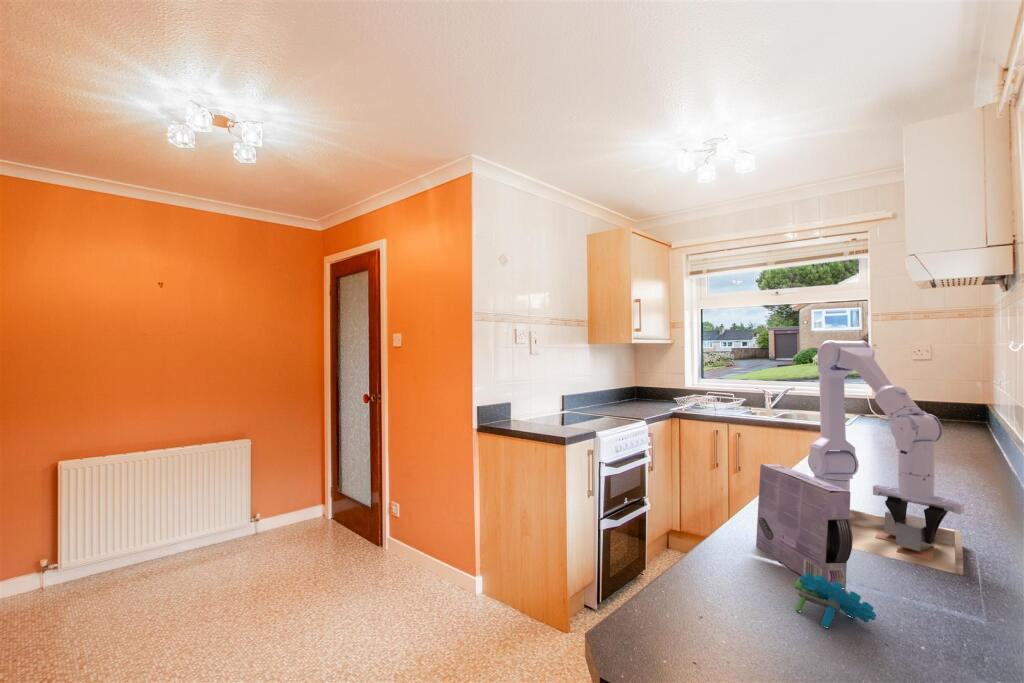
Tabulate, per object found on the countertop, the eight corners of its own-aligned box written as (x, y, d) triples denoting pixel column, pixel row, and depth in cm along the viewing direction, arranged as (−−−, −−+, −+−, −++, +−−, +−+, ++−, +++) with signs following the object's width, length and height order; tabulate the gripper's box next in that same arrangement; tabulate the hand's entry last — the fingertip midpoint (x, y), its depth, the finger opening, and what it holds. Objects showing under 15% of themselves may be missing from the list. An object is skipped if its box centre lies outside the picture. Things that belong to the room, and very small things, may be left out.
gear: (891, 622, 71) (854, 581, 69) (878, 661, 68) (840, 619, 67) (818, 597, 81) (784, 560, 79) (804, 630, 78) (769, 592, 77)
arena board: (816, 542, 104) (816, 526, 104) (831, 520, 117) (831, 505, 117) (963, 578, 88) (963, 558, 88) (960, 548, 102) (961, 531, 102)
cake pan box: (854, 592, 83) (855, 489, 83) (829, 594, 82) (829, 490, 82) (776, 546, 102) (776, 462, 102) (754, 547, 101) (755, 463, 101)
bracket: (920, 551, 96) (920, 528, 96) (872, 537, 102) (873, 516, 103) (936, 543, 101) (936, 521, 101) (890, 530, 107) (890, 510, 107)
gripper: (969, 478, 96) (968, 546, 96) (882, 462, 108) (882, 523, 108) (957, 483, 92) (956, 555, 92) (868, 466, 104) (868, 530, 104)
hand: (915, 538), depth 100 cm, fingers closed on bracket, 4 cm apart
